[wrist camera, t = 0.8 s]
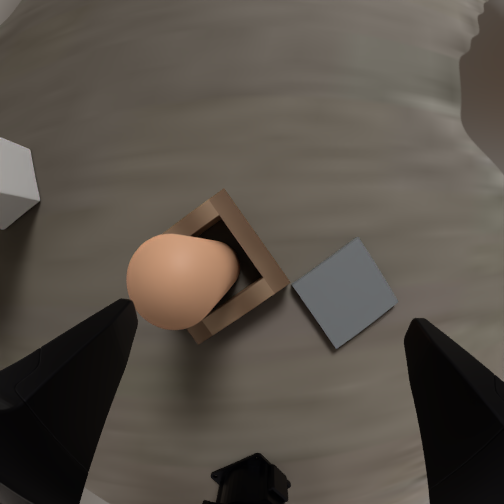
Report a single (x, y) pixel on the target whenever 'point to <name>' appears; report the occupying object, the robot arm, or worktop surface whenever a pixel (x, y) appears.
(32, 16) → the worktop surface
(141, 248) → the peach rounded cylinder
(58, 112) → the worktop surface
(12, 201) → the milk carton
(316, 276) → the slate rubber pad
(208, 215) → the walnut socket block
